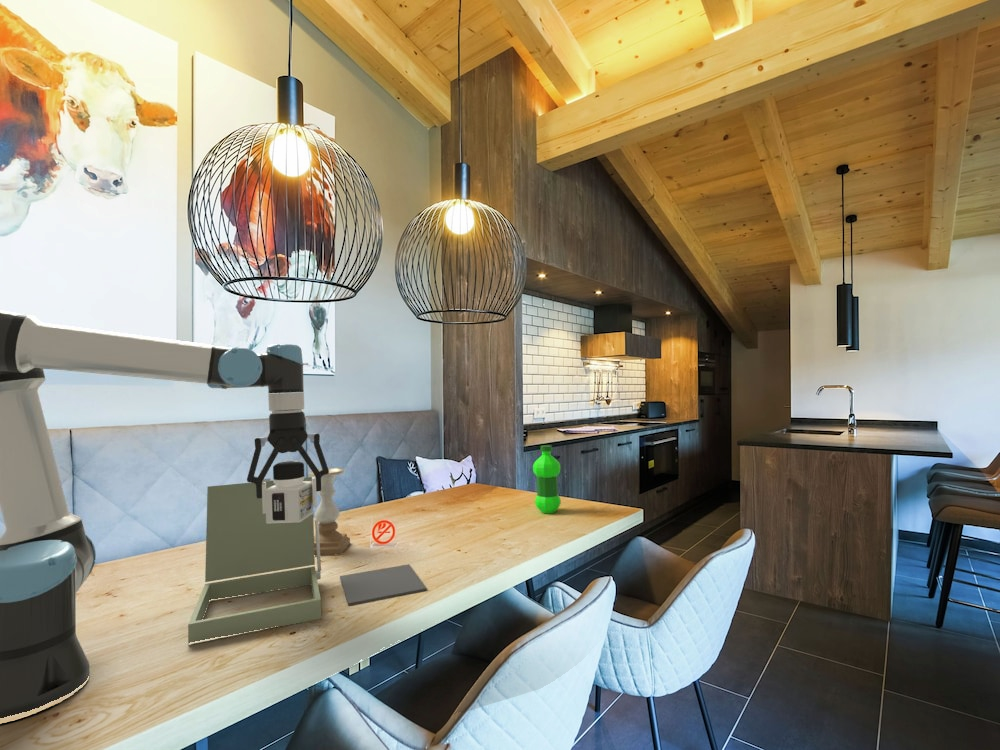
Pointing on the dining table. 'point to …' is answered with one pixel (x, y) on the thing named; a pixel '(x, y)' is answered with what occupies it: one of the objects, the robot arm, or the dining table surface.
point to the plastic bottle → (547, 481)
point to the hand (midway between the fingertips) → (290, 508)
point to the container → (288, 494)
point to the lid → (251, 535)
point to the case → (259, 617)
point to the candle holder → (329, 517)
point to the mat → (381, 584)
